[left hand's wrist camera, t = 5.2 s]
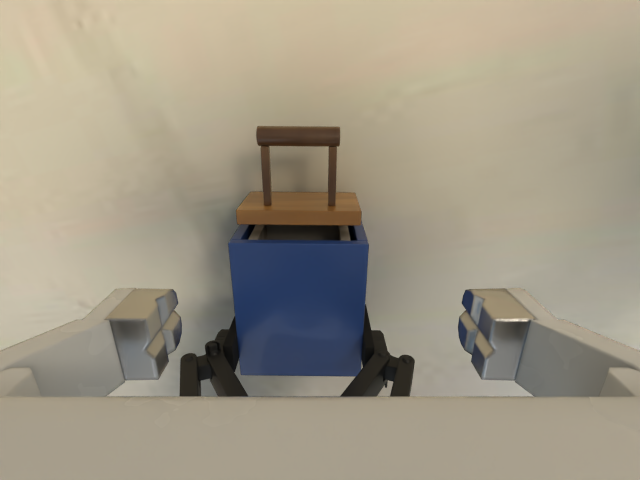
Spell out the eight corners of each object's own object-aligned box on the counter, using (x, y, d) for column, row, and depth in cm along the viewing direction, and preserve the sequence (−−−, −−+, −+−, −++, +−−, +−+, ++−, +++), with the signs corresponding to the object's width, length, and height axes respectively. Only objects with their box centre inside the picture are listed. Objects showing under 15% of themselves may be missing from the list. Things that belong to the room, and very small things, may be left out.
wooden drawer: (245, 122, 31) (228, 127, 25) (358, 123, 31) (365, 128, 25) (257, 302, 37) (246, 337, 32) (350, 303, 37) (354, 338, 32)
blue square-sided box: (247, 213, 35) (227, 243, 28) (359, 214, 35) (368, 244, 27) (255, 325, 40) (240, 375, 32) (353, 326, 40) (360, 376, 32)
